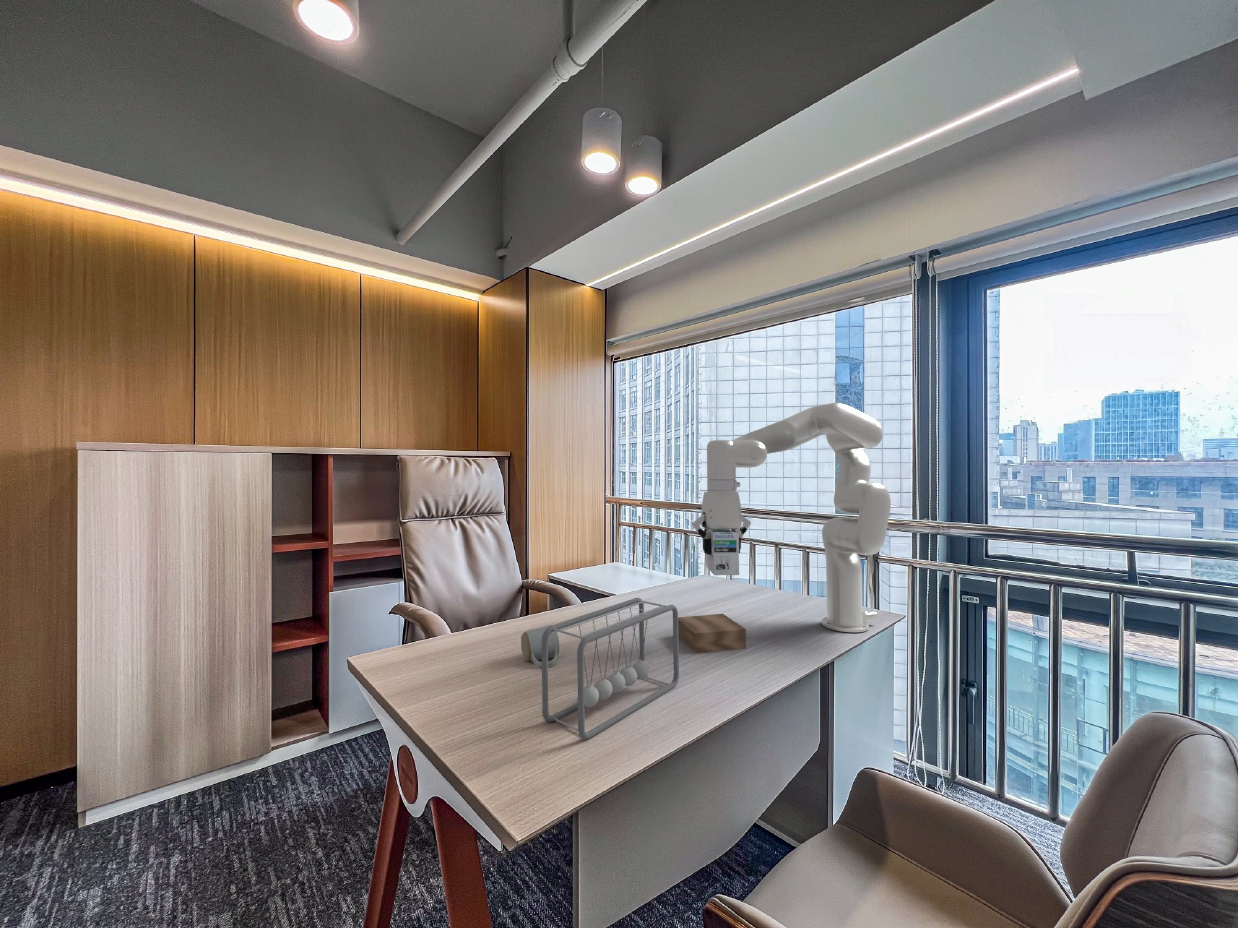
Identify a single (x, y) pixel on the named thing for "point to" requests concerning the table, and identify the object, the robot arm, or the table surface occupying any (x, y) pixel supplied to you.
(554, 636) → the ceramic mug
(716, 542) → the light bulb box
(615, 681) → the newton's cradle
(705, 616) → the walnut block
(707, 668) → the table surface
